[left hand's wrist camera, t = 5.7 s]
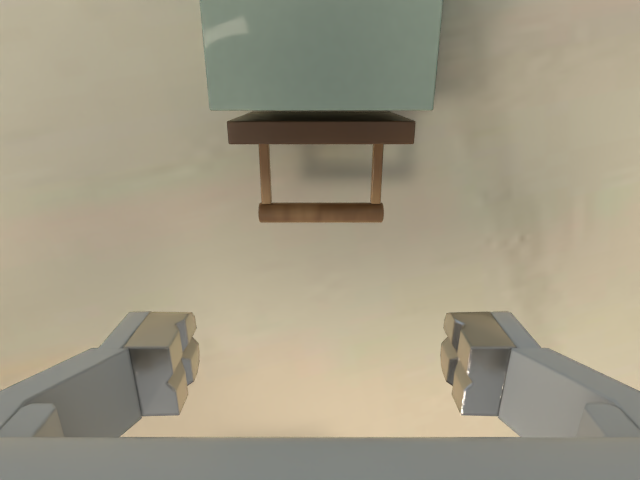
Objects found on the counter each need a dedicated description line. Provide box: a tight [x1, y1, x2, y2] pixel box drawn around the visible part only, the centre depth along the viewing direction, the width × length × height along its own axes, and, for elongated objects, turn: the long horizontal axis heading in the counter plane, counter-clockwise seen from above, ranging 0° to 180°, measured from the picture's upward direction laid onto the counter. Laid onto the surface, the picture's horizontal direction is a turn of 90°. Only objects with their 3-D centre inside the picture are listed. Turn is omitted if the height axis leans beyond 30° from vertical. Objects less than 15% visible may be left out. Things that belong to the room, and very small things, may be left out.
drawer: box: [227, 112, 415, 222], centre depth 24 cm, size 24×10×9 cm, turn 0°
